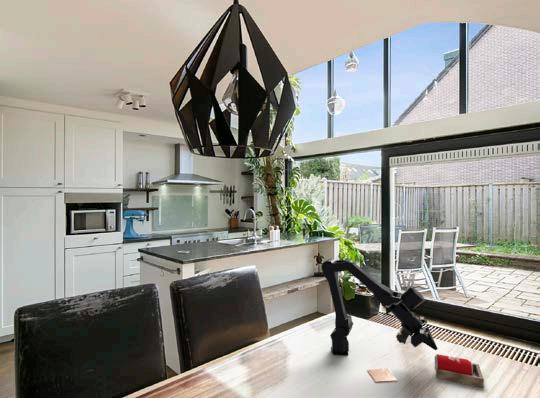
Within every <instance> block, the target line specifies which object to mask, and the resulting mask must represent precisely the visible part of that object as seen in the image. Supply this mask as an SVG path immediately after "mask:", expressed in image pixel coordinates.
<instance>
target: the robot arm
mask: <svg viewBox="0 0 540 398" xmlns="http://www.w3.org/2000/svg"><path fill="white" fill-rule="evenodd" d="M321 271H322V273H323V276H324V277H325V280H326V281H327V283H328V286H329V287H328V288H329V292H330V296H331V299H332V300H331V301H332V304H333V309H334V310H333V311H334V313H335V319H334V326H335V328H334V329H333V330H332V331H331V333H330V340H331V347H330V349H331V354H332V355H333V356H335V355H336V356H348V355H349V351H350V349H349V347H350V346H349V345H350V342H349V339H348V336H349V335H350V333H351V331H352V329H353V325H354V322H353V319H352V314H348V313H347V311H346V307H345V304H344V303H345V302H344V299H343V295H342V290H341V285H340V282H339V272H349V273H350V274H351V275H352V276H353V277H354V278H356V279H357V280H358V281H359V282H360V283H361V284H363V285H364V286H365V287H366V288H367V289H368V290H369V291H370V292H371V293H372V295H373V297H374V298H375V299H376V300H377V301H378V302H379V303H380V305H382V306H385V315H389V314H390V313H391V314H393V316H395V318H396V319H397V320H398V322H400V326H401V328H400V330H399V331H398V332H397V333H396V335H395V338H396V341H397V342H398V343H399V344H404V345H405V344H406V343H407V340H408V338H409V337H410V344H411V345H412V346H413V347H414V348H417V347H418V346H420V345H421V344H425V345H426V346H427V347H429V348H431V349H433V350H434V351H437V350H438V346H437V343H436V342H435V340H434V337H433V334H432V333H431V330H430V328H429V326H426V327H423V326H424V324H428V320H427V319H426V318H425V317H424V316H419V317H416V315H415V312H413V311H411V310H414V309H416V308H417V307H418V306H419V305H421V304H422V303H423V302H425V301H426V299H425V298H424V296H423V295H422V293H420V291H419V290H417V289H415V288H413V286H409V287H408V288H407V289H406V290H405V291H404V292H398V291H396V290H395V291H393V290H392V288H390V287H388V286H387V285H385V284H382V283H380V282H379V281H377V280H376V279H374V278H373V276H371V275H369V274H368V273H367V272H366V271H365V270H363V268H362V267H360V266H359V265H358V264H357V263H355V261H354V260H352V259H347V260H345V259H335V258H328V259H326V260H325V261H323V263H322V264H321Z"/></svg>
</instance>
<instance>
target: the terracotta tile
mask: <svg viewBox="0 0 540 398" xmlns="http://www.w3.org/2000/svg"><path fill="white" fill-rule="evenodd" d="M367 373H368V374H369V376H370V377H371V378H372V379H373V381H374V382H375V383H377V384H379V383H396V382H398V379H397V378H396V377H395V375H394V374H393V373H392V372H391V370H389V368H373V369H367Z"/></svg>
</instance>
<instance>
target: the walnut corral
mask: <svg viewBox="0 0 540 398" xmlns="http://www.w3.org/2000/svg"><path fill="white" fill-rule="evenodd" d="M472 366H473V376H472V375H466V374H461V373H456V372H451V371H446V370H441V369H436V370H435V371H436V375H435V376H436V377H435V378H436V379H439V380H445V381H449V382H454V383H457V384H458V383H459V384H463V385H466V386H467V385H468V386H472V387H473V386H474V387H477V388H483V389H484V388H485V386H484V383H485V382H484V377H483V376H484V375H483V373H482V369H481V366H480V364H479V363H473V362H472Z"/></svg>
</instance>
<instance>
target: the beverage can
mask: <svg viewBox="0 0 540 398" xmlns="http://www.w3.org/2000/svg"><path fill="white" fill-rule="evenodd" d="M472 363H473V362H472V361H471V360H468V359H467V358H462V357H461V358H460V357H458V356H457V357H456V356H449V355H445V354H444V355H443V354H438V353H436V354H435V355H434V370H435V371H436V369H441V370H446V371H451V372H456V373H461V374H466V375H472V376H473V366H472Z"/></svg>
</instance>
